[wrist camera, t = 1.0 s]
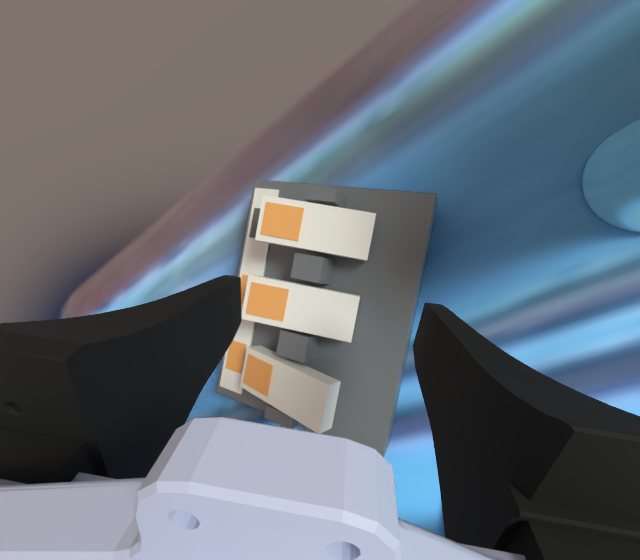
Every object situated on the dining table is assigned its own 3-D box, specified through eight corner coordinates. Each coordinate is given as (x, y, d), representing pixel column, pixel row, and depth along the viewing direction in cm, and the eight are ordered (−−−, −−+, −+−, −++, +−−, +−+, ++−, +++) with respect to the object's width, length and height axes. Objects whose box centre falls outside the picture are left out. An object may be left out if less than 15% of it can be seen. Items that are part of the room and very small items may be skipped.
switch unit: (389, 442, 21) (375, 478, 17) (236, 383, 26) (197, 400, 22) (437, 204, 21) (435, 182, 17) (271, 189, 26) (238, 169, 21)
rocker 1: (366, 261, 19) (367, 260, 18) (261, 241, 20) (254, 239, 19) (375, 217, 19) (376, 213, 18) (268, 199, 20) (262, 194, 19)
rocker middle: (351, 338, 20) (351, 343, 18) (247, 316, 21) (240, 318, 19) (360, 295, 20) (360, 296, 18) (254, 274, 20) (248, 274, 19)
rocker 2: (331, 427, 18) (318, 434, 17) (253, 383, 22) (239, 386, 21) (340, 381, 18) (328, 385, 17) (260, 345, 22) (246, 347, 21)
